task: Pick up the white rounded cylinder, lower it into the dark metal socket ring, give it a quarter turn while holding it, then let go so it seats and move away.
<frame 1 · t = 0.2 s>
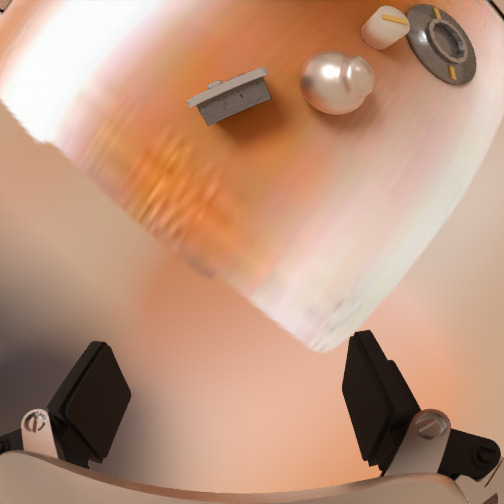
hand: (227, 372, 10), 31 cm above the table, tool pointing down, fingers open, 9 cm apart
socket: (441, 43, 28), on the table
electrical switch: (234, 99, 34), on the table
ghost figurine: (327, 89, 33), on the table
white rounded cylinder: (375, 36, 29), on the table
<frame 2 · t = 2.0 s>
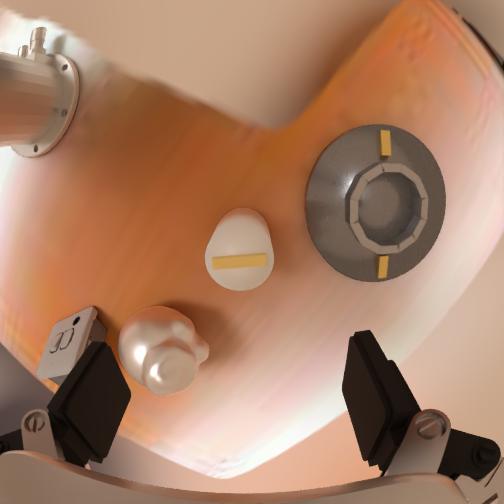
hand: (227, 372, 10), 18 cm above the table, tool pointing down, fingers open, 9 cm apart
socket: (381, 204, 26), on the table
electrical switch: (86, 328, 31), on the table
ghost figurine: (173, 323, 31), on the table
white rounded cylinder: (242, 233, 27), on the table
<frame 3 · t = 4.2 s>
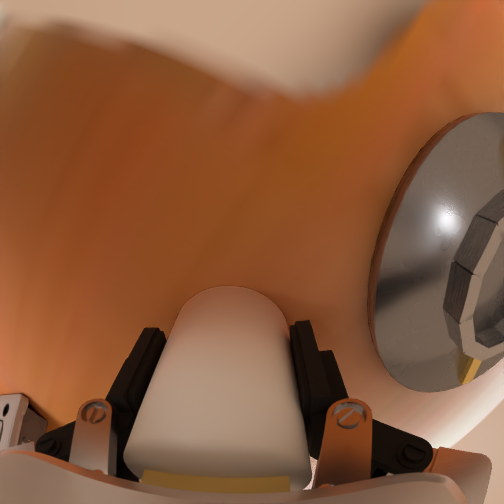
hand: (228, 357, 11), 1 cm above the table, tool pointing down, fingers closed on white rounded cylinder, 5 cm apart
socket: (490, 266, 11), on the table
electrical switch: (26, 411, 17), on the table
white rounded cylinder: (231, 336, 12), on the table, touching gripper
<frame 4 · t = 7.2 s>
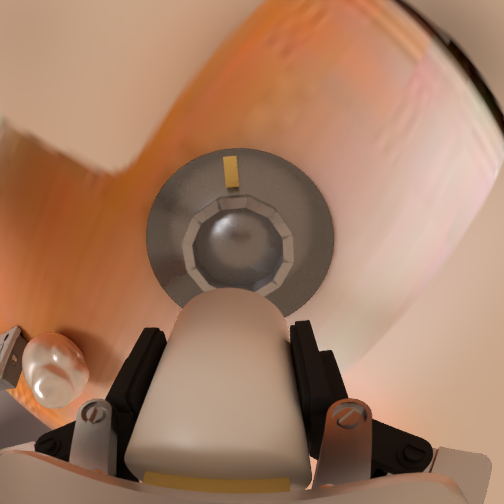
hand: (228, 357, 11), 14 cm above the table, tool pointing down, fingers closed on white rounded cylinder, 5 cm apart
socket: (239, 243, 24), on the table
electrical switch: (18, 343, 30), on the table
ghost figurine: (72, 346, 29), on the table
white rounded cylinder: (231, 337, 12), point 13 cm above the table, touching gripper
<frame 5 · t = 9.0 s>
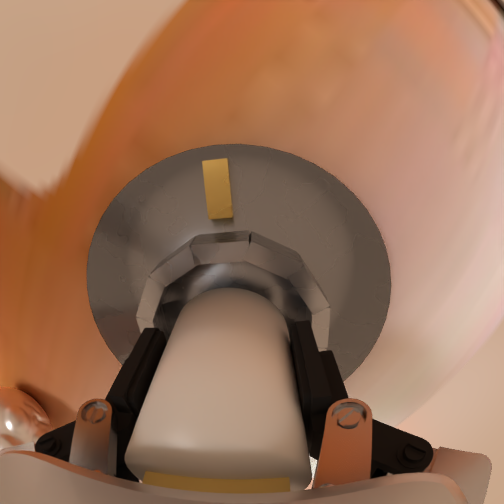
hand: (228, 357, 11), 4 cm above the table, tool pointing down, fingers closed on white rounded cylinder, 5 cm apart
socket: (235, 307, 14), on the table
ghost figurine: (35, 401, 19), on the table
white rounded cylinder: (231, 337, 12), point 3 cm above the table, touching gripper
when the fingers open (4 cm above the table, at t = 10.5 s): white rounded cylinder drops 1 cm, resting on socket.
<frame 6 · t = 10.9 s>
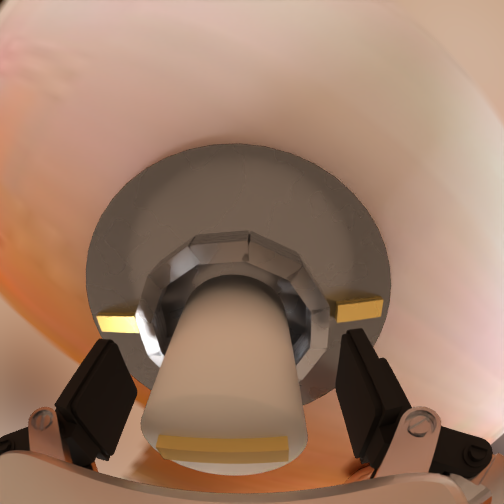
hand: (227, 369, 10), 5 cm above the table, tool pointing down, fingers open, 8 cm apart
socket: (234, 308, 14), on the table
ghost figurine: (369, 465, 22), on the table
white rounded cylinder: (234, 321, 13), point 1 cm above the table, touching socket
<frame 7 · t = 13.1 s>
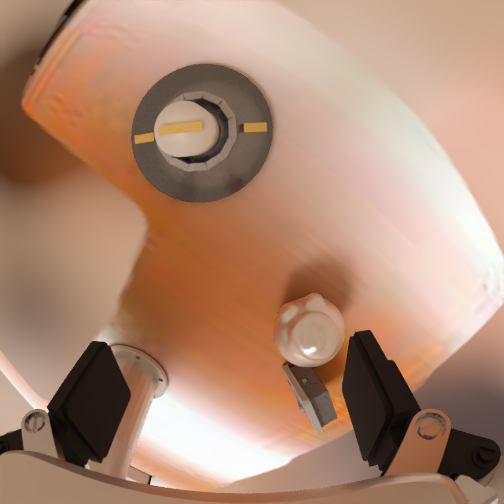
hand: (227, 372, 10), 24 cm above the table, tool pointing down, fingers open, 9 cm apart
socket: (199, 131, 29), on the table
disc drive: (112, 463, 62), on the table
electrical switch: (305, 375, 42), on the table
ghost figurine: (304, 309, 37), on the table
white rounded cylinder: (198, 132, 28), point 1 cm above the table, touching socket
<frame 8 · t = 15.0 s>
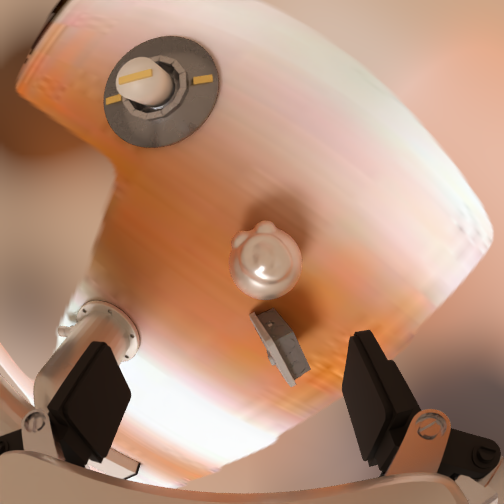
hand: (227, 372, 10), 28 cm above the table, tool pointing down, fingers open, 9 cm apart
socket: (158, 90, 31), on the table
disc drive: (101, 451, 62), on the table
electrical switch: (275, 327, 43), on the table
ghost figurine: (264, 248, 38), on the table
white rounded cylinder: (156, 89, 30), point 1 cm above the table, touching socket
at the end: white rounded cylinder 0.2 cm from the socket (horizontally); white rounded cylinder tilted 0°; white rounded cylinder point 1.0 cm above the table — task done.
